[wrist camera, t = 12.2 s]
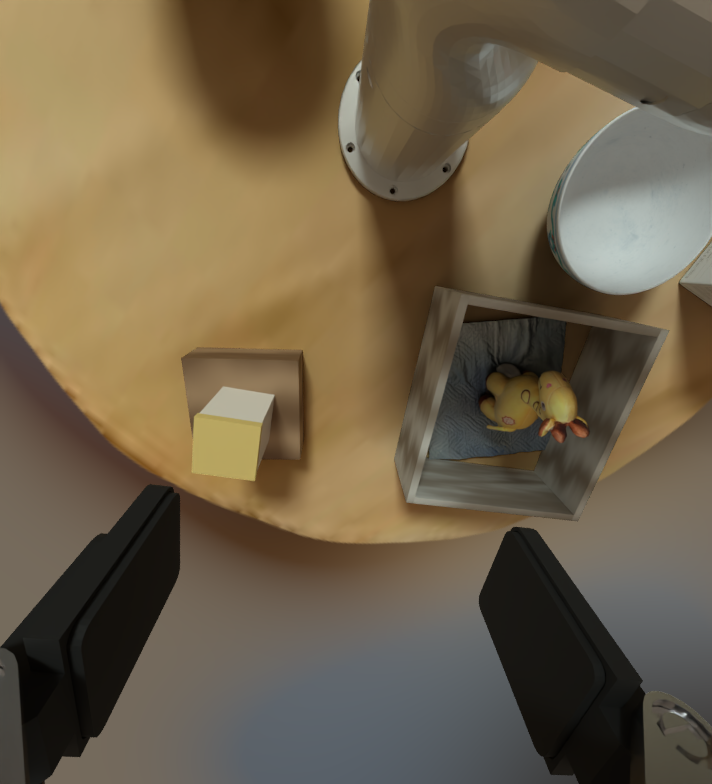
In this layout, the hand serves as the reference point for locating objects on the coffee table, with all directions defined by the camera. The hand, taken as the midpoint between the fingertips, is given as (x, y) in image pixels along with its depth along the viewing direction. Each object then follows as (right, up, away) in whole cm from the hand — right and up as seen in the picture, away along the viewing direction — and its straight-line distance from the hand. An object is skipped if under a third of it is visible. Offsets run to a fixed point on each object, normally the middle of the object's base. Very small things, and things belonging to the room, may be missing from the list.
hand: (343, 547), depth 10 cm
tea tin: (-12, +2, +29) cm, 31 cm away
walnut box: (-12, +4, +34) cm, 36 cm away
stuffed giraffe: (+17, +4, +35) cm, 39 cm away
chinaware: (+25, +23, +28) cm, 44 cm away
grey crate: (+17, +4, +35) cm, 39 cm away
